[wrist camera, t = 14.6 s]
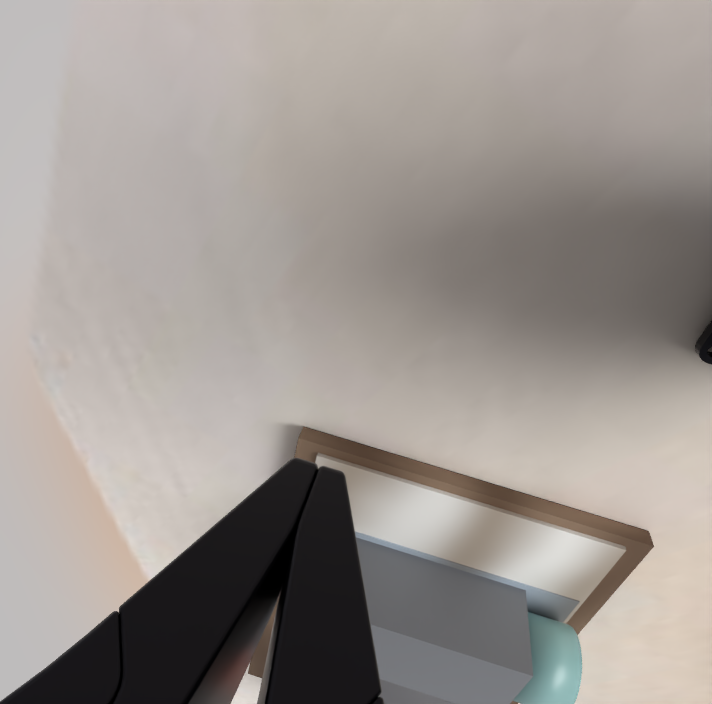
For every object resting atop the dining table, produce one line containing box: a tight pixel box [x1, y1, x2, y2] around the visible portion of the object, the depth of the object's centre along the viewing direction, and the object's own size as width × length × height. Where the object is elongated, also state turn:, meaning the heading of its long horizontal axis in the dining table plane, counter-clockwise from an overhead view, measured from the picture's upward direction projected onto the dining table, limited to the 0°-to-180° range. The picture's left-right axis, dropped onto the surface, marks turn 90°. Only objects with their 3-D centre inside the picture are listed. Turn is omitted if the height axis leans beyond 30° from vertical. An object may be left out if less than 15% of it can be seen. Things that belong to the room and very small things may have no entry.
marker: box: [356, 537, 582, 704], centre depth 25 cm, size 13×4×4 cm, turn 77°
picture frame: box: [248, 427, 654, 704], centre depth 29 cm, size 16×22×1 cm
